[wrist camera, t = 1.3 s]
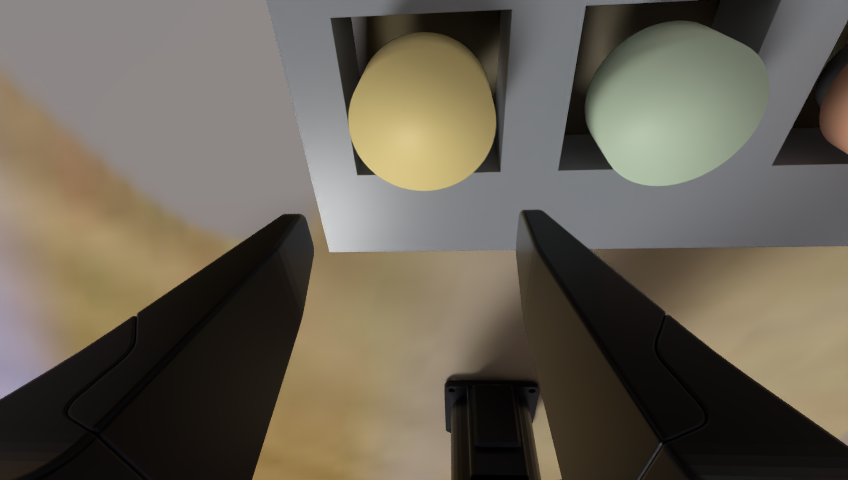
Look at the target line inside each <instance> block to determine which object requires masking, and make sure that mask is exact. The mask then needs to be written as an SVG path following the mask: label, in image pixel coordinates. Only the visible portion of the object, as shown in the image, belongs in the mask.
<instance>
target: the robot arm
mask: <svg viewBox="0 0 848 480" xmlns="http://www.w3.org/2000/svg"><path fill="white" fill-rule="evenodd" d="M313 257H314V246H313V242H312V238H311V235H310V231H309V228H308V224H307V221H306V218H305V217H304V215H302V214H283V215H281V216H280V217H278V218H277V219H275V220H274V221H272V222H271V223H270V224H268V225H267V226H265V227H264V228H262V229H261V230H259V231H258V232H256V233H255V234H253V235H252V236H250V237H249V238H247V239H246V240H244V241H243V242H242V243H240V244H239V245H237V246H236V247H234V248H233V249H231V250H230V251H228V252H227V253H225V254H224V255H222V256H221V257H219V258H218V259H216V260H215V261H214V262H212V263H211V264H209V265H208V266H206V267H205V268H203V269H202V270H200V271H199V272H197V273H196V274H194V275H193V276H191V277H190V278H188V279H187V280H186V281H184V282H183V283H181V284H180V285H178V286H177V287H175V288H174V289H172V290H171V291H169V292H168V293H166V294H165V295H163V296H162V297H160V298H159V299H158V300H156V301H155V302H153V303H152V304H150V305H149V306H147V307H146V308H144V309H143V310H141V311H140V312H138V313H137V317H136V316H132V317H131V318H129V319H128V320H126V321H125V322H124V323H122V324H121V325H119V326H118V327H116V328H115V329H113V330H112V331H110V332H109V333H107V334H106V335H104V336H103V337H101V338H100V339H98V340H97V341H95V342H93V343H92V344H90V345H89V346H87V347H86V348H84V349H83V350H81V351H80V352H78V353H76V354H75V355H73V356H71V357H70V358H68V359H67V360H65V361H63V362H62V363H60V364H58V365H57V366H55V367H54V368H52V369H50V370H49V371H47V372H45V373H44V374H42V375H40V376H39V377H37V378H35V379H34V380H32V381H30V382H29V383H27V384H25V385H24V386H22V387H20V388H19V389H17V390H15V391H14V392H12V393H10V394H9V395H7V396H5V397H4V398H2V399H0V480H252V478H253V475H254V472H255V468H256V465H257V462H258V459H259V456H260V452H261V449H262V446H263V443H264V439H265V436H266V433H267V430H268V427H269V423H270V420H271V417H272V414H273V411H274V407H275V404H276V401H277V398H278V395H279V391H280V388H281V385H282V382H283V379H284V375H285V372H286V369H287V366H288V363H289V359H290V356H291V353H292V350H293V347H294V343H295V340H296V337H297V334H298V330H299V327H300V324H301V320H302V316H303V311H304V307H305V301H306V295H307V290H308V284H309V279H310V273H311V268H312V262H313ZM516 257H517V266H518V276H519V285H520V295H521V304H522V312H523V318H524V323H525V328H526V332H527V336H528V340H529V344H530V349H531V353H532V357H533V361H534V365H535V369H536V373H537V377H538V381H539V386H540V390H541V394H542V398H543V402H544V406H545V410H546V414H547V418H548V423H549V427H550V431H551V435H552V439H553V443H554V447H555V451H556V456H557V460H558V464H559V468H560V472H561V476H562V480H848V446H847V445H846V444H844V443H843V442H842V441H840V440H839V439H837V438H836V437H834V436H833V435H832V434H830V433H829V432H827V431H826V430H824V429H823V428H822V427H820V426H819V425H817V424H816V423H814V422H813V421H812V420H810V419H809V418H807V417H806V416H805V415H803V414H802V413H800V412H799V411H797V410H796V409H795V408H793V407H792V406H790V405H789V404H787V403H786V402H785V401H783V400H782V399H780V398H779V397H777V396H776V395H775V394H773V393H772V392H770V391H769V390H767V389H766V388H765V387H763V386H762V385H760V384H759V383H757V382H756V381H755V380H753V379H752V378H750V377H749V376H748V375H746V374H745V373H744V372H742V371H741V370H739V369H738V368H737V367H735V366H734V365H733V364H731V363H730V362H728V361H727V360H726V359H724V358H723V357H722V356H720V355H719V354H717V353H716V352H715V351H714V350H712V349H711V348H710V347H708V346H707V345H706V344H705V343H703V342H702V341H701V340H700V339H698V338H697V337H696V336H695V335H693V334H692V333H691V332H689V331H688V330H687V329H686V328H685V327H683V326H682V325H681V324H680V323H678V322H677V321H676V320H675V319H674V318H672V317H671V316H670V315H665V314H666V313H665V311H664V310H662V309H661V308H660V307H659V306H658V305H656V304H655V303H654V302H653V301H652V300H650V299H649V298H648V297H647V296H646V295H644V294H643V293H642V292H641V291H639V290H638V289H637V288H636V287H635V286H633V285H632V284H631V283H630V282H629V281H627V280H626V279H625V278H624V277H623V276H621V275H620V274H619V273H618V272H616V271H615V270H614V269H613V268H612V267H610V266H609V265H608V264H607V263H606V262H604V261H603V260H602V259H601V258H600V257H598V256H597V255H596V254H595V253H593V252H592V251H591V250H590V249H589V248H587V247H586V246H585V245H584V244H583V243H581V242H580V241H579V240H578V239H577V238H575V237H574V236H573V235H572V234H570V233H569V232H568V231H567V230H566V229H564V228H563V227H562V226H561V225H560V224H558V223H557V222H556V221H555V220H554V219H552V218H551V217H550V216H549V215H547V214H546V213H545V212H544V211H542V210H539V209H536V210H522V211H521V212H520V214H519V220H518V229H517V238H516ZM539 386H538V384H537V383H536V382H496V381H449V382H446V383H445V416H446V431H447V432H450V433H451V480H541V476H540V470H539V464H538V458H537V452H536V446H535V440H534V433H533V427H532V423H533V418H534V414H535V409H536V405H537V400H538V396H539Z"/></svg>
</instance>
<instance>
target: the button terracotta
mask: <svg viewBox="0 0 848 480" xmlns="http://www.w3.org/2000/svg"><path fill="white" fill-rule="evenodd" d="M815 98H816V102H817V104H818V106H819V107H820V114H819V124H820V129H821V132H822V134H823V136H824V137H825V139H826V140H827V141H828V142H830V143H831V144H832V145H834V146H835V147H837V148H838V149H840V150H842V151H843V152H845V153H846V154H848V44H847V45H846V46H845V47H843V48H842V49H841V50H840V51H839V52H838V53H837V54H836V55H835V56H834V57H833V58H832V59H831V60H830V61H829V63H828V64H827V65H826V67H825V68H824V70H823V71H822V73H821V75H820V77H819V79H818V82H817V85H816V90H815Z"/></svg>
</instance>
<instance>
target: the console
mask: <svg viewBox="0 0 848 480" xmlns="http://www.w3.org/2000/svg"><path fill="white" fill-rule="evenodd" d="M675 1H696V0H267V4H268V7H269V12H270V15H271V20H272V24H273V28H274V31H275V35H276V40H277V44H278V48H279V52H280V56H281V60H282V63H283V67H284V72H285V75H286V80H287V84H288V87H289V92H290V96H291V100H292V104H293V107H294V111H295V116H296V120H297V124H298V128H299V131H300V135H301V139H302V144H303V148H304V152H305V155H306V160H307V163H308V167H309V171H310V176H311V180H312V184H313V188H314V192H315V196H316V200H317V204H318V208H319V212H320V216H321V220H322V224H323V228H324V232H325V236H326V240H327V244H328V248H329V252H380V251H465V250H516V238H517V229H518V220H519V214H520V212H521V211H522V210H536V209H539V210H542V211H544V212H545V213H546V214H547V215H549V216H550V217H551V218H552V219H554V220H555V221H556V222H557V223H558V224H560V225H561V226H562V227H563V228H564V229H566V230H567V231H568V232H569V233H570V234H572V235H573V236H574V237H575V238H577V239H578V240H579V241H580V242H581V243H583V244H584V245H585V246H586V247H587V248H589V249H636V248H721V247H806V246H848V154H846V153H845V152H843V151H842V150H840V149H838V148H837V147H835V146H834V145H832V144H831V143H830V142H828V141H827V140H826V139H825V137H824V136H823V134H822V132H821V129H820V128H792V126H793V124H794V122H795V120H796V118H797V116H798V114H799V113H800V111H801V109H802V107H803V105H804V103H805V101H806V99H807V97H808V95H809V93H810V92H811V90H812V88H813V86H814V84H815V82H816V80H817V78H818V76H819V74H820V72H821V71H822V69H823V67H824V65H825V63H826V61H827V59H828V57H829V55H830V53H831V51H832V50H833V48H834V46H835V44H836V42H837V40H838V38H839V36H840V34H841V32H842V31H843V29H844V27H845V25H846V23H847V21H848V0H720V3H719V6H718V9H717V12H716V14H715V17H714V20H713V23H712V26H711V29H713V30H715V31H718V32H720V33H722V34H724V35H726V36H728V37H730V38H732V39H734V40H736V41H738V42H740V43H743V44H744V45H746V46H748V47H749V48H751V49H752V50H753V51H754V52H756V53H757V54H758V55H759V57H760V58H761V59H762V61H763V62H764V64H765V67H766V69H767V72H768V76H769V84H770V90H769V99H768V103H767V107H766V110H765V112H764V115H763V117H762V119H761V121H760V123H759V125H758V127H757V128H756V130H755V131H754V133H753V134H752V136H751V137H750V138H749V139H748V141H747V142H746V143H745V144H744V145H743V146H742V147H741V148H740V149H739V150H738V151H737V152H736V153H735V154H734V155H733V156H732V157H730V158H729V159H728V160H727V161H725V162H724V163H723V164H721V165H720V166H718V167H717V168H715V169H713V170H712V171H710V172H708V173H706V174H704V175H702V176H700V177H698V178H695V179H692V180H689V181H686V182H683V183H679V184H674V185H667V186H648V185H642V184H638V183H635V182H632V181H630V180H627V179H625V178H624V177H622V176H621V175H619V174H618V173H617V172H616V171H615V170H614V169H613V168H612V166H611V165H610V164H609V162H608V161H607V159H606V157H605V156H604V154H603V153H602V151H601V149H600V148H599V146H598V145H597V143H596V141H595V140H594V138H593V137H592V135H591V134H579V135H564V132H565V127H566V121H567V115H568V109H569V103H570V97H571V91H572V85H573V79H574V73H575V67H576V61H577V55H578V50H579V44H580V38H581V32H582V26H583V20H584V14H585V8H586V6H591V5H612V4H633V3H654V2H675ZM486 10H501V14H500V32H499V49H498V67H497V84H496V102H495V113H496V131H495V137H494V140H493V144H492V146H491V149H490V151H489V153H488V155H487V156H486V158H485V160H484V161H483V162H482V164H481V165H480V166H479V167H478V168H477V169H476V170H475V171H474V172H473V173H472V174H471V175H469V176H468V177H467V178H465V179H464V180H462V181H460V182H459V183H457V184H454V185H452V186H449V187H446V188H443V189H438V190H432V191H416V190H409V189H405V188H401V187H398V186H395V185H393V184H391V183H389V182H387V181H385V180H383V179H382V178H380V177H379V176H377V175H376V174H375V173H374V172H372V171H371V170H370V169H369V168H368V167H367V166H366V164H365V163H364V162H363V161H362V159H361V158H360V156H359V155H358V153H357V151H356V149H355V147H354V145H353V142H352V140H351V136H350V131H349V123H348V117H349V107H350V102H351V99H352V96H353V93H354V91H355V89H356V87H357V85H358V83H359V81H360V77H359V71H358V64H357V57H356V50H355V43H354V36H353V29H352V22H351V17H360V16H381V15H402V14H423V13H444V12H465V11H486Z"/></svg>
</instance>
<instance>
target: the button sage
mask: <svg viewBox="0 0 848 480" xmlns="http://www.w3.org/2000/svg"><path fill="white" fill-rule="evenodd" d="M769 90H770V84H769V76H768V72H767V69H766V67H765V64H764V62H763V61H762V59H761V58H760V57H759V55H758V54H757V53H756V52H754V51H753V50H752V49H751V48H749V47H748V46H746V45H744V44H743V43H740V42H738V41H736V40H734V39H732V38H730V37H728V36H726V35H724V34H722V33H720V32H718V31H715V30H713V29H711V28H709V27H707V26H705V25H702V24H699V23H697V22H691V21H669V22H664V23H659V24H656V25H653V26H650V27H647V28H645V29H643V30H641V31H639V32H637V33H635V34H634V35H632V36H631V37H629V38H627V39H626V40H625V41H623V42H622V43H621V44H620V45H618V46H617V47H616V48H615V49H614V50H613V51H612V52H611V53H610V54H609V55H608V56H607V57H606V59H605V60H604V61H603V62H602V64H601V65H600V66H599V68H598V69H597V71H596V73H595V75H594V76H593V78H592V80H591V83H590V85H589V88H588V91H587V95H586V100H585V118H586V123H587V126H588V129H589V131H590V133H591V135H592V137H593V138H594V140H595V141H596V143H597V145H598V146H599V148H600V149H601V151H602V153H603V154H604V156H605V157H606V159H607V161H608V162H609V164H610V165H611V166H612V168H613V169H614V170H615V171H616V172H617V173H618V174H619V175H621V176H622V177H624V178H625V179H627V180H630V181H632V182H635V183H638V184H642V185H648V186H667V185H674V184H679V183H683V182H686V181H689V180H692V179H695V178H698V177H700V176H702V175H704V174H706V173H708V172H710V171H712V170H713V169H715V168H717V167H718V166H720V165H721V164H723V163H724V162H725V161H727V160H728V159H729V158H730V157H732V156H733V155H734V154H735V153H736V152H737V151H738V150H739V149H740V148H741V147H742V146H743V145H744V144H745V143H746V142H747V141H748V139H749V138H750V137H751V136H752V134H753V133H754V131H755V130H756V128H757V127H758V125H759V123H760V121H761V119H762V117H763V115H764V112H765V110H766V107H767V103H768V99H769Z"/></svg>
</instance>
